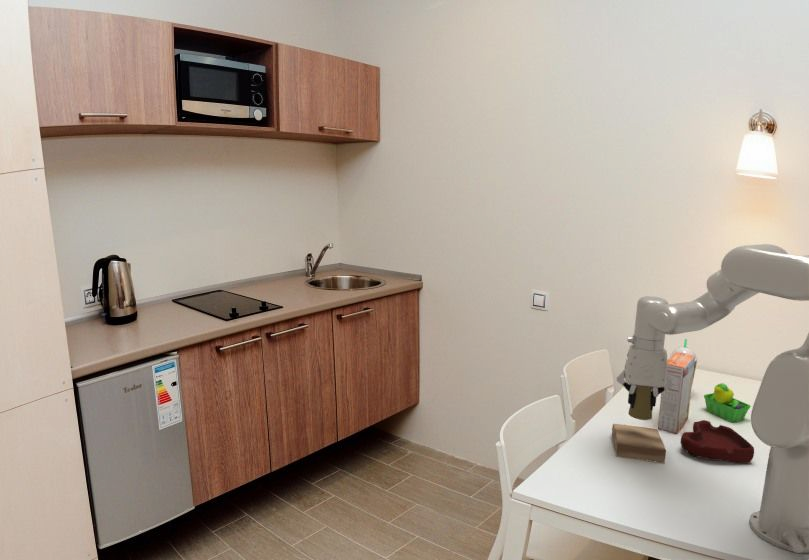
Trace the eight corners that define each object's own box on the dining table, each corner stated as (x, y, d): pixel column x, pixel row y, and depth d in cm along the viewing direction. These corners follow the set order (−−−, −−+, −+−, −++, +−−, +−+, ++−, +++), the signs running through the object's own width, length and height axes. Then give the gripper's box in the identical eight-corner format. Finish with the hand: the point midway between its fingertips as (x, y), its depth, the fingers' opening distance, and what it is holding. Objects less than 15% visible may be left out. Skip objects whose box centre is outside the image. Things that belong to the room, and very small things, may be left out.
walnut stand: (664, 462, 143) (666, 449, 142) (616, 456, 146) (617, 442, 145) (656, 441, 154) (657, 428, 153) (611, 435, 157) (612, 423, 156)
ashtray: (743, 477, 137) (746, 459, 136) (675, 454, 148) (677, 437, 147) (759, 452, 149) (762, 436, 148) (695, 432, 160) (697, 417, 159)
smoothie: (660, 392, 189) (666, 337, 186) (677, 388, 193) (683, 334, 189) (681, 401, 182) (688, 344, 178) (698, 397, 185) (705, 341, 182)
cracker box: (667, 413, 173) (675, 350, 169) (688, 418, 169) (696, 355, 165) (655, 428, 162) (663, 362, 158) (677, 434, 158) (685, 367, 154)
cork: (654, 421, 144) (659, 382, 142) (630, 418, 146) (635, 380, 143) (649, 411, 150) (653, 374, 148) (626, 409, 151) (630, 372, 149)
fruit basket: (750, 421, 168) (755, 386, 166) (729, 425, 165) (734, 390, 163) (717, 406, 178) (721, 374, 176) (697, 410, 175) (701, 377, 173)
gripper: (616, 344, 142) (609, 409, 146) (686, 350, 138) (677, 417, 142) (613, 336, 149) (607, 398, 153) (679, 342, 145) (671, 405, 149)
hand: (641, 406), depth 147 cm, fingers closed on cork, 4 cm apart
